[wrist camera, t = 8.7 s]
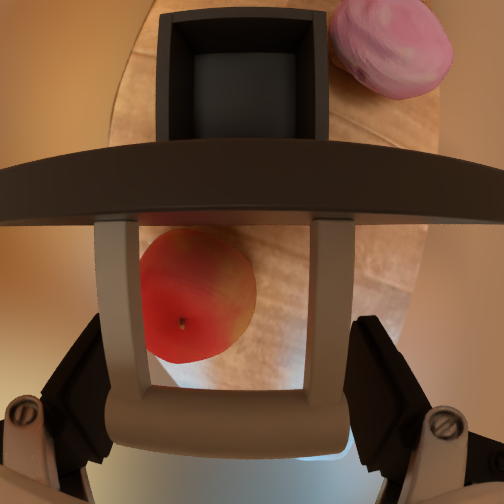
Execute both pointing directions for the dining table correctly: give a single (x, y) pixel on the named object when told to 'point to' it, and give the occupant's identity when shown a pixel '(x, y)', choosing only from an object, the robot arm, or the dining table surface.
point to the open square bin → (242, 74)
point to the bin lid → (240, 213)
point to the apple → (194, 296)
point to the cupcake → (390, 46)
